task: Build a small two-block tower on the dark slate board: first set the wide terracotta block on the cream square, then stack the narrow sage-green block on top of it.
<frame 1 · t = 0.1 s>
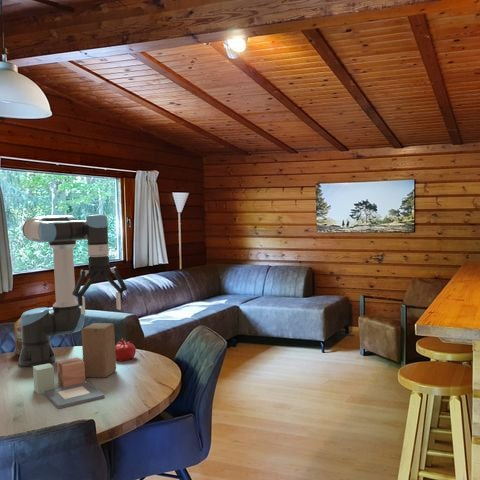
hand: (101, 311, 195), 28 cm above the table, tool pointing down, fingers open, 13 cm apart
sage block: (44, 390, 191), on the table
terracotta block: (71, 384, 197), on the table
pomegranate: (124, 359, 229), on the table
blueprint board: (74, 395, 185), on the table
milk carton: (32, 353, 245), on the table
wooden block: (100, 374, 209), on the table
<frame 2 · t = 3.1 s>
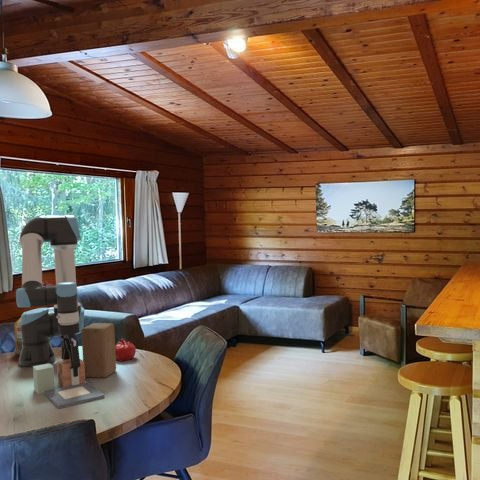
hand: (71, 381, 197), 1 cm above the table, tool pointing down, fingers open, 9 cm apart
terracotta block: (71, 384, 197), on the table, touching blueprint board, gripper
everything else where it was.
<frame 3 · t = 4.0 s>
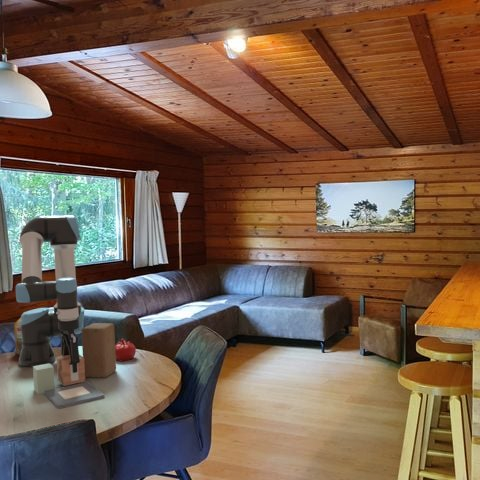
hand: (71, 377, 197), 3 cm above the table, tool pointing down, fingers closed on terracotta block, 8 cm apart
terracotta block: (71, 380, 197), point 1 cm above the table, touching gripper
everything else where it was.
when the fingers open (3 cm above the table, at t = 9.6 s): terracotta block stays where it is, resting on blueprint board.
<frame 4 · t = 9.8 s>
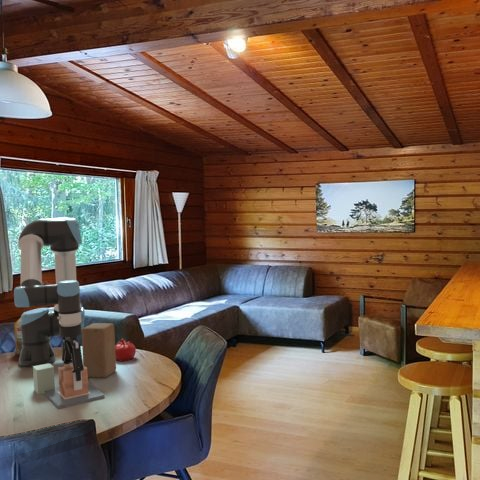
hand: (73, 385, 184), 4 cm above the table, tool pointing down, fingers open, 10 cm apart
terracotta block: (73, 392, 185), point 1 cm above the table, touching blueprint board
everything else where it was.
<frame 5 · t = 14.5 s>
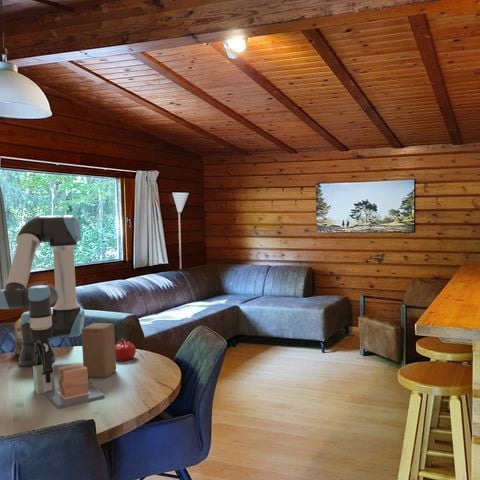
hand: (44, 387, 191), 1 cm above the table, tool pointing down, fingers open, 9 cm apart
nothing on the table moved.
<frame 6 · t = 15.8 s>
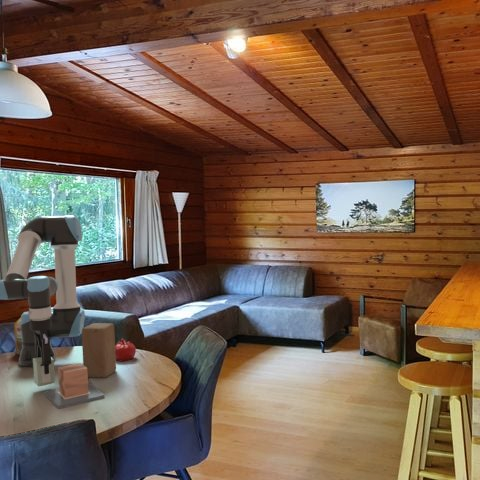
hand: (44, 379, 192), 4 cm above the table, tool pointing down, fingers closed on sage block, 6 cm apart
sage block: (44, 382, 192), point 3 cm above the table, touching gripper
everything else where it was.
when the fingers open (12 cm above the table, at t = 20.2 s): sage block stays where it is, resting on terracotta block.
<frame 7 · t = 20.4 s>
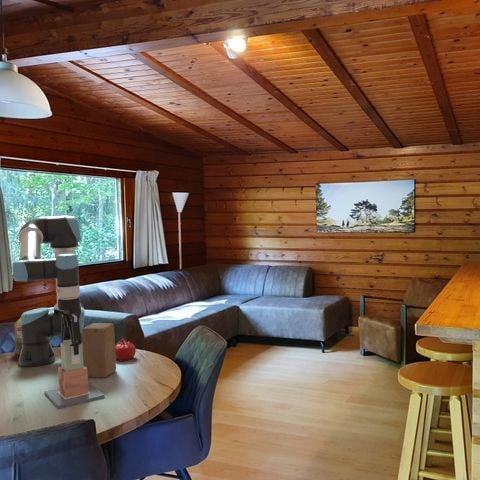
hand: (72, 360, 184), 13 cm above the table, tool pointing down, fingers open, 8 cm apart
sage block: (72, 367, 184), point 10 cm above the table, touching terracotta block
terracotta block: (73, 392, 185), point 1 cm above the table, touching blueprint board, sage block
everything else where it was.
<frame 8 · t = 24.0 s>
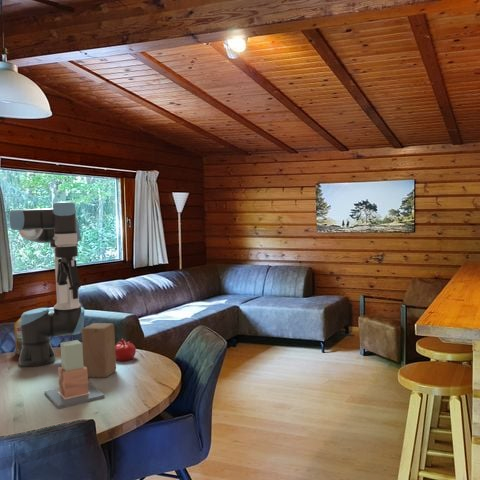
hand: (69, 305, 183), 33 cm above the table, tool pointing down, fingers open, 13 cm apart
nothing on the table moved.
at the end: terracotta block inside the target area on the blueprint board (0.0 cm from its centre), point 1.2 cm above the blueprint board's base; sage block 0.1 cm off-centre on the terracotta block, point 9.0 cm above the terracotta block's base; the gripper is holding nothing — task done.
